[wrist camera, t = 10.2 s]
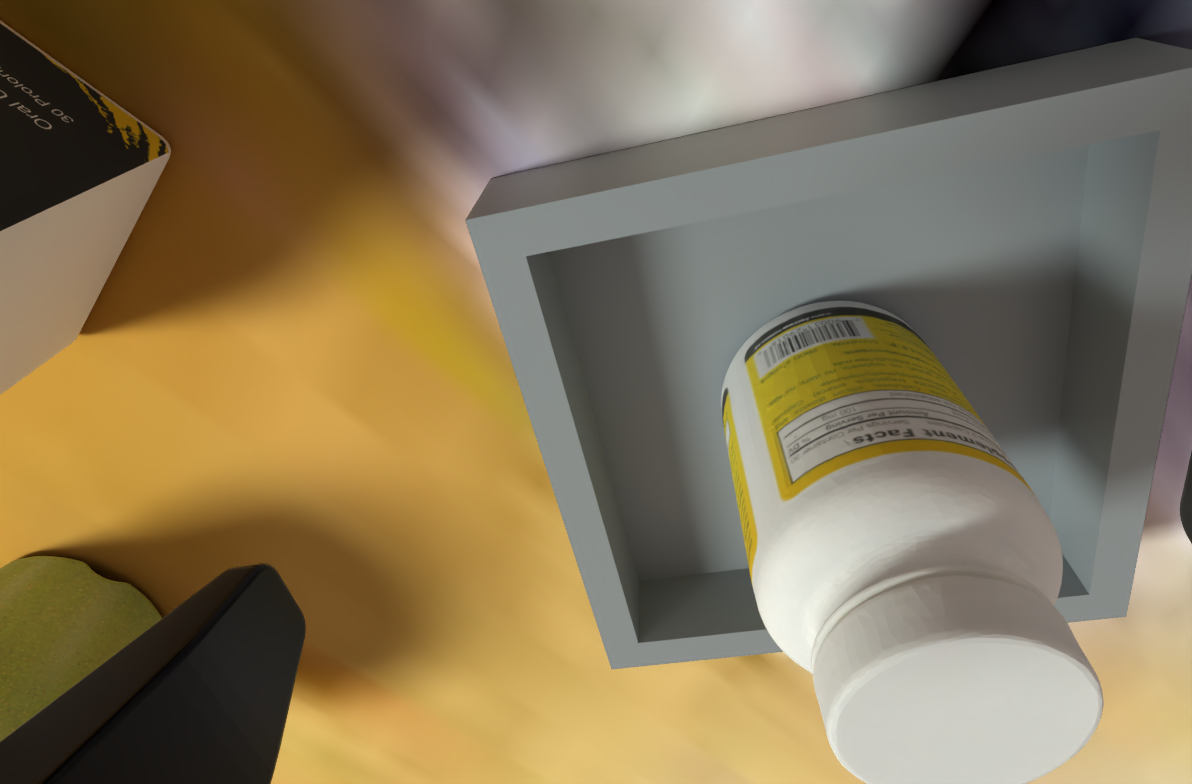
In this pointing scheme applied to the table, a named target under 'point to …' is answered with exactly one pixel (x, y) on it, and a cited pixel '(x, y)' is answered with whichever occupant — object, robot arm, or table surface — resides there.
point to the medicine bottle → (61, 200)
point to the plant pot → (59, 630)
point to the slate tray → (860, 274)
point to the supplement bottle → (901, 555)
